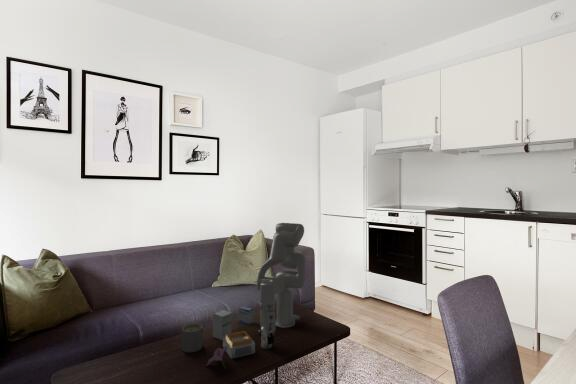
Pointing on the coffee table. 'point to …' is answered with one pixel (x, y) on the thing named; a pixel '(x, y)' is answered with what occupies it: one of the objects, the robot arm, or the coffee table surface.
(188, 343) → the coffee mug
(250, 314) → the medicine box
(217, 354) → the lily
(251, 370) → the coffee table surface
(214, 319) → the supplement box
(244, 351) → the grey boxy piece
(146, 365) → the coffee table surface
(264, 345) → the spout can
